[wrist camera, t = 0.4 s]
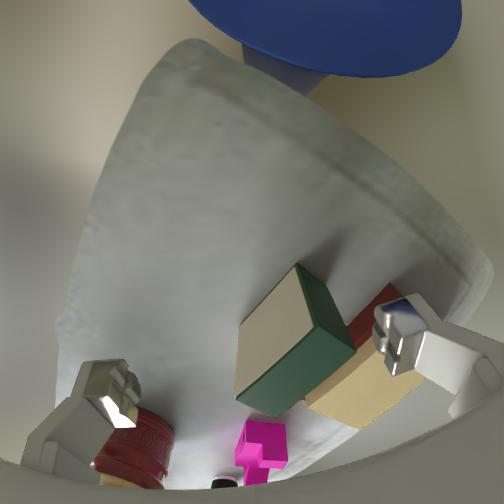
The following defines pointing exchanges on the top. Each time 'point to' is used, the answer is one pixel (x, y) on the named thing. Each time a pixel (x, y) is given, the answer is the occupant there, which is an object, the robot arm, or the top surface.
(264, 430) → the toy block
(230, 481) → the dixie cup
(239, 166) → the top surface
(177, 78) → the top surface
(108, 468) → the kitchen canister
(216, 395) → the top surface
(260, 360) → the book
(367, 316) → the book stack
